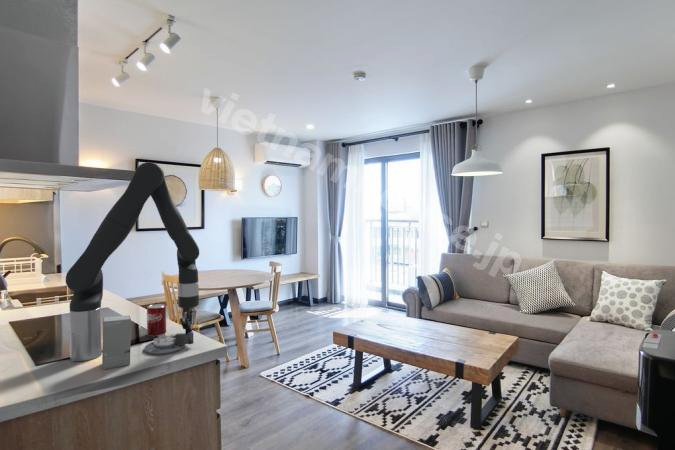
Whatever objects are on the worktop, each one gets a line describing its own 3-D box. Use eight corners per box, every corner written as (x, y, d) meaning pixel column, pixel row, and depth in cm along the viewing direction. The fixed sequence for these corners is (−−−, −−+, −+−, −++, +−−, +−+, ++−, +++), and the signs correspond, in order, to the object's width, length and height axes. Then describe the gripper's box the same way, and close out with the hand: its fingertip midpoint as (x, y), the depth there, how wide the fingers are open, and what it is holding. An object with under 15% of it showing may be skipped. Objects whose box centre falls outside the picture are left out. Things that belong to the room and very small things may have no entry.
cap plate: (150, 358, 133) (150, 354, 133) (140, 347, 143) (140, 343, 143) (190, 349, 142) (190, 345, 142) (178, 339, 153) (178, 336, 152)
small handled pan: (149, 348, 138) (149, 336, 138) (159, 341, 146) (159, 329, 146) (188, 348, 139) (188, 336, 139) (196, 340, 147) (196, 329, 147)
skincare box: (102, 370, 123) (101, 322, 122) (102, 362, 129) (101, 316, 128) (131, 365, 127) (131, 318, 126) (130, 357, 133) (129, 313, 132)
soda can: (158, 337, 154) (158, 308, 154) (143, 336, 156) (142, 307, 155) (169, 332, 161) (169, 304, 161) (155, 330, 163) (154, 303, 162)
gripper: (193, 297, 140) (193, 343, 140) (202, 290, 153) (203, 332, 154) (172, 298, 139) (173, 344, 140) (183, 290, 152) (184, 332, 153)
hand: (188, 338), depth 147 cm, fingers closed
